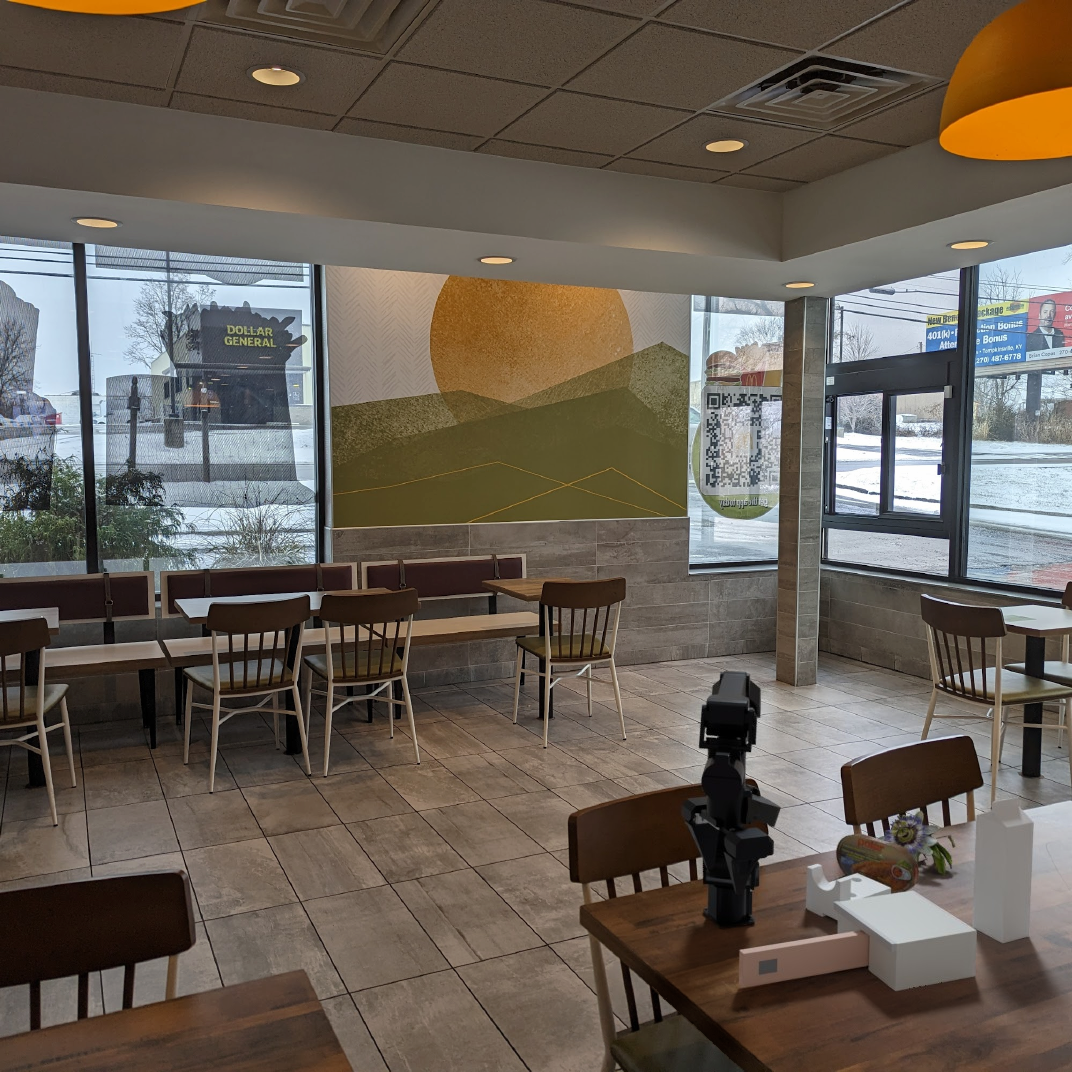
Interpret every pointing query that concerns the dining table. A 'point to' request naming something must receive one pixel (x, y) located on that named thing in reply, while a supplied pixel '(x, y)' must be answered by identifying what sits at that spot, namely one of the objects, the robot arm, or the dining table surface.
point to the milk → (1003, 871)
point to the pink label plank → (803, 958)
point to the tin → (878, 861)
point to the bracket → (838, 890)
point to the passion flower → (918, 839)
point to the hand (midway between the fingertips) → (724, 880)
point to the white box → (910, 939)
